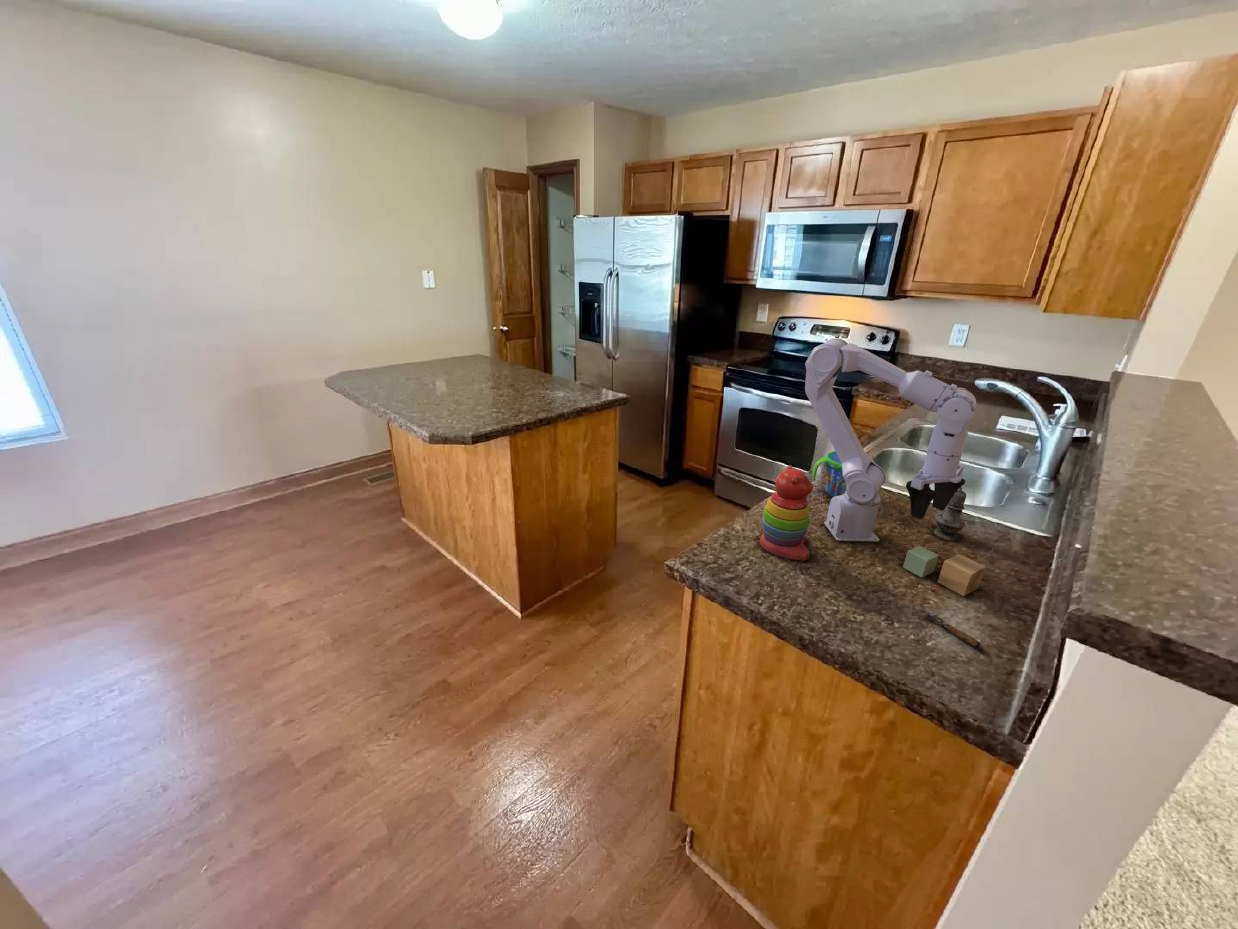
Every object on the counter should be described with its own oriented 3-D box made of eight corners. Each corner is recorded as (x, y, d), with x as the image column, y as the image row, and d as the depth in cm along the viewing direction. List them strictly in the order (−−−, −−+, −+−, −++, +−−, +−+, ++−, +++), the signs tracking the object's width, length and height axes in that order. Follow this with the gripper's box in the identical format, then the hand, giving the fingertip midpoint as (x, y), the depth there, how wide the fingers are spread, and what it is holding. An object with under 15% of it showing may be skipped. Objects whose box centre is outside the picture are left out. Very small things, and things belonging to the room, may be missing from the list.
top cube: (921, 577, 101) (927, 560, 99) (902, 567, 104) (907, 550, 102) (933, 572, 103) (939, 555, 101) (914, 562, 106) (919, 545, 104)
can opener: (980, 647, 83) (982, 642, 83) (970, 651, 82) (972, 645, 82) (930, 613, 91) (931, 608, 90) (920, 616, 90) (922, 611, 90)
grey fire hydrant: (959, 544, 112) (975, 495, 108) (929, 535, 116) (943, 487, 111) (962, 533, 117) (978, 486, 112) (933, 525, 120) (947, 478, 115)
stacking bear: (810, 562, 105) (826, 484, 97) (759, 556, 106) (771, 478, 99) (804, 535, 114) (818, 462, 107) (757, 530, 116) (768, 457, 109)
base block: (963, 596, 96) (971, 574, 94) (937, 582, 100) (944, 560, 98) (977, 588, 98) (986, 566, 96) (951, 574, 102) (958, 553, 100)
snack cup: (869, 489, 137) (878, 454, 132) (876, 507, 127) (885, 470, 123) (808, 481, 140) (814, 447, 136) (809, 498, 131) (817, 462, 127)
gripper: (944, 465, 94) (926, 530, 99) (986, 451, 101) (967, 512, 106) (907, 453, 99) (892, 514, 105) (949, 440, 106) (933, 499, 111)
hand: (927, 512), depth 106 cm, fingers open, 7 cm apart
